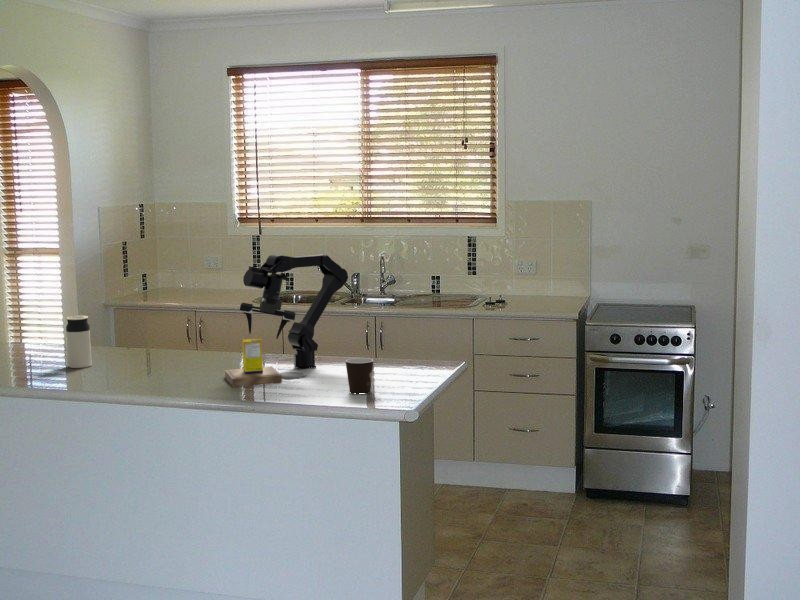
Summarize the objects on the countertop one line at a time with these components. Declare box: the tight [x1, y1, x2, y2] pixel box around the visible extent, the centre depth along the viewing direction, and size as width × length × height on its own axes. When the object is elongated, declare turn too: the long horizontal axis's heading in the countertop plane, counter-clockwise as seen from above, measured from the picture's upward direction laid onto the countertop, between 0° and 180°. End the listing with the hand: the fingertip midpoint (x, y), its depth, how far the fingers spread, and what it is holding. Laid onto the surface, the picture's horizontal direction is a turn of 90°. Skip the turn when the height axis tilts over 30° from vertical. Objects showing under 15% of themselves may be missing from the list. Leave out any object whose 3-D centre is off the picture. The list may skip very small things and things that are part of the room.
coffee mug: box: [345, 357, 374, 395], centre depth 297 cm, size 12×9×10 cm
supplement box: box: [241, 337, 264, 374], centre depth 315 cm, size 6×6×11 cm
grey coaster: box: [279, 371, 305, 380], centre depth 321 cm, size 9×9×1 cm
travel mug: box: [65, 315, 93, 369], centre depth 343 cm, size 8×8×18 cm
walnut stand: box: [224, 366, 283, 388], centre depth 316 cm, size 16×16×3 cm
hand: (263, 336), depth 324 cm, fingers open, 9 cm apart
